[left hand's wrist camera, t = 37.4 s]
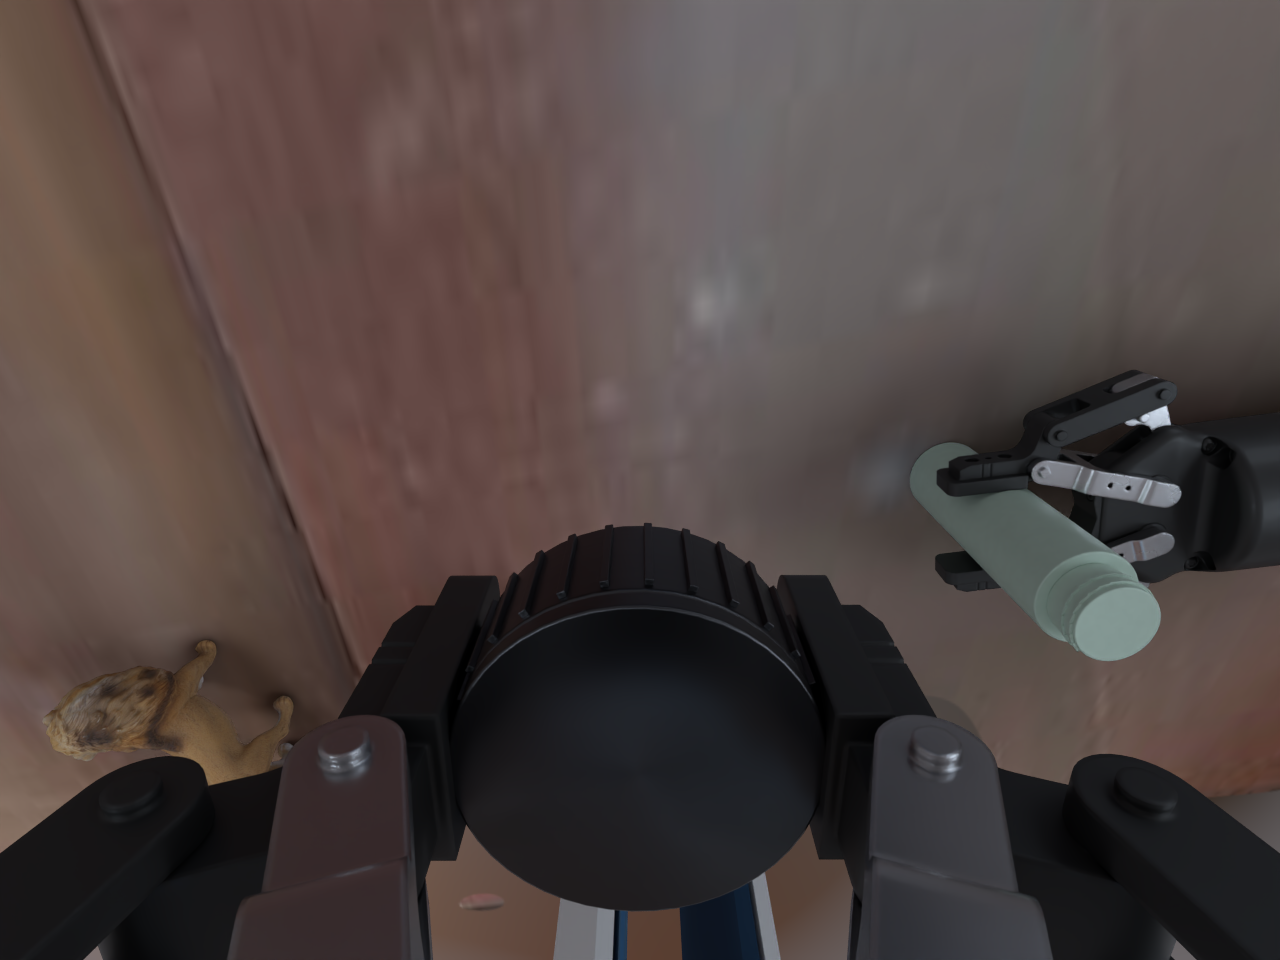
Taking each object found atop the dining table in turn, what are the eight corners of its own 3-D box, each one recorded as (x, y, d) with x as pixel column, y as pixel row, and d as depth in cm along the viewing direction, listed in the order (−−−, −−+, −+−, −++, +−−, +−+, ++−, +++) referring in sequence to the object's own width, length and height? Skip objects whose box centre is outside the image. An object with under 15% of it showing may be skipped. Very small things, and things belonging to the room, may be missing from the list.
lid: (465, 767, 12) (427, 892, 10) (496, 494, 10) (458, 570, 8) (757, 807, 12) (782, 936, 10) (832, 547, 10) (882, 634, 8)
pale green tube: (958, 427, 42) (1145, 555, 27) (994, 481, 43) (1192, 632, 28) (895, 471, 43) (1042, 618, 28) (932, 522, 44) (1091, 690, 29)
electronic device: (760, 627, 47) (935, 1263, 19) (719, 717, 49) (819, 1396, 21) (573, 572, 45) (463, 1170, 17) (541, 668, 48) (400, 1325, 20)
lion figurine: (120, 658, 48) (9, 756, 39) (157, 604, 46) (49, 693, 38) (316, 772, 51) (252, 884, 43) (356, 724, 50) (298, 831, 41)
